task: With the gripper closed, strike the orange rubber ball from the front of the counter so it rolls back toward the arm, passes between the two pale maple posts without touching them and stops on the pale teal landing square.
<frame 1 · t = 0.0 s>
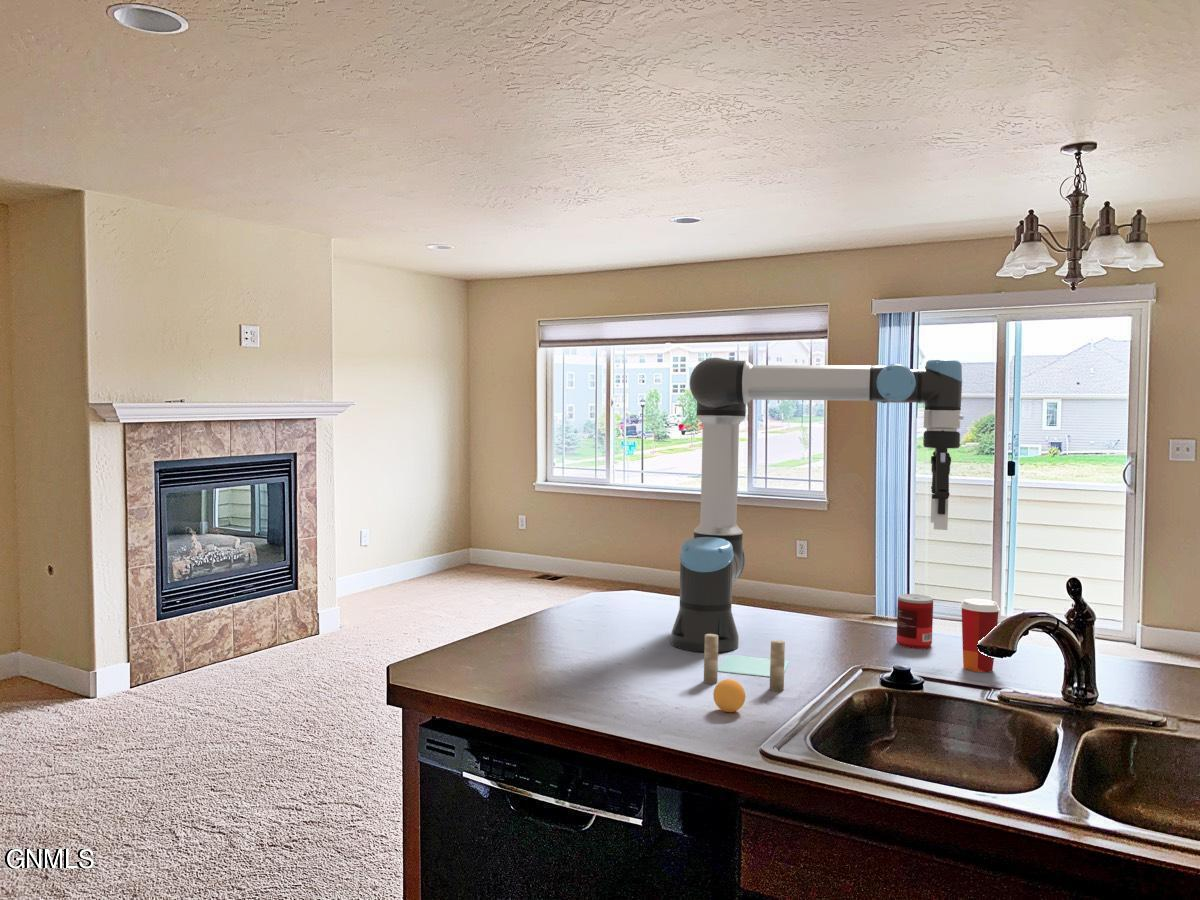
hand: (938, 526, 196), 28 cm above the counter, tool pointing down, fingers open, 13 cm apart
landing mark: (753, 666, 182), on the counter
ball: (729, 695, 153), on the counter
left post: (710, 681, 171), on the counter
paper cup: (977, 669, 184), on the counter
right post: (776, 689, 167), on the counter
canned food: (913, 645, 203), on the counter
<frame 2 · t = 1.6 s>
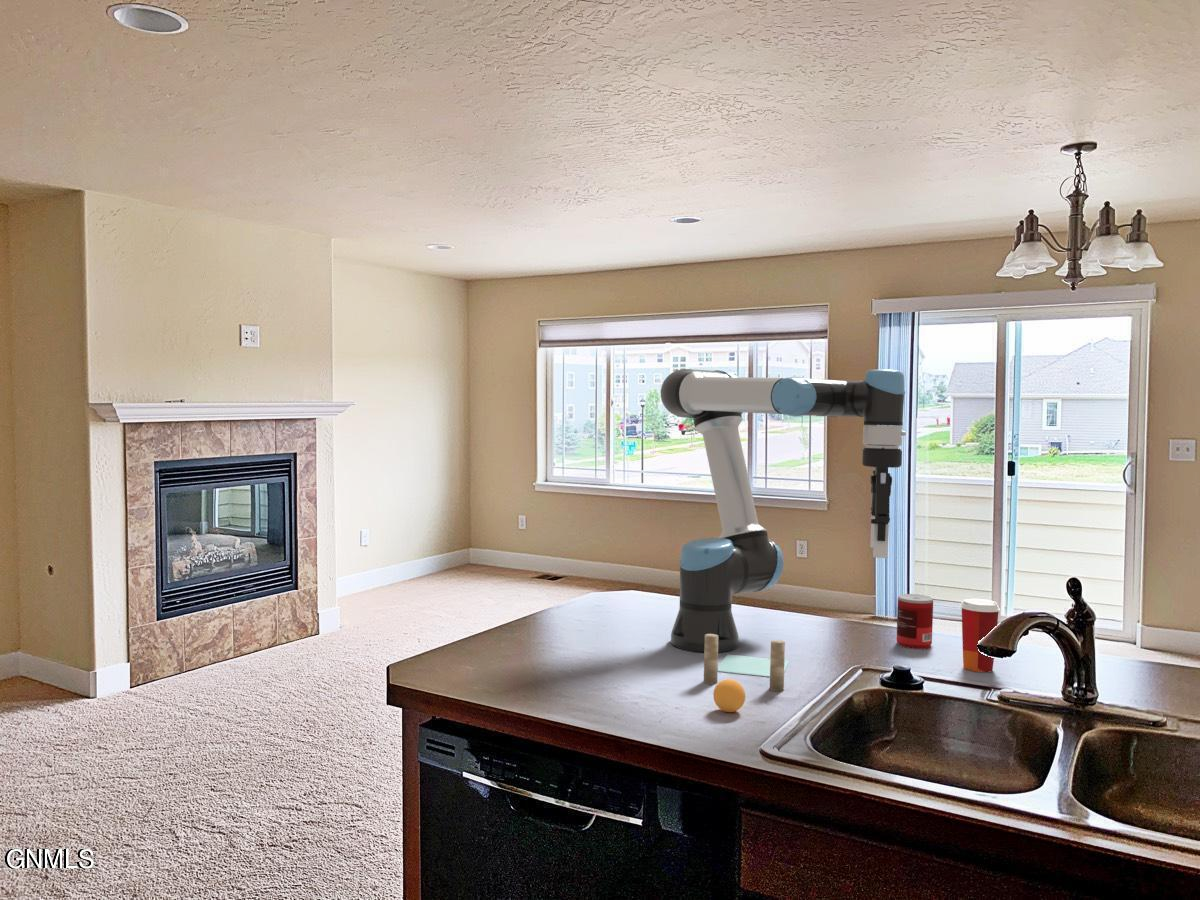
hand: (878, 552, 178), 24 cm above the counter, tool pointing down, fingers open, 13 cm apart
nothing on the counter moved.
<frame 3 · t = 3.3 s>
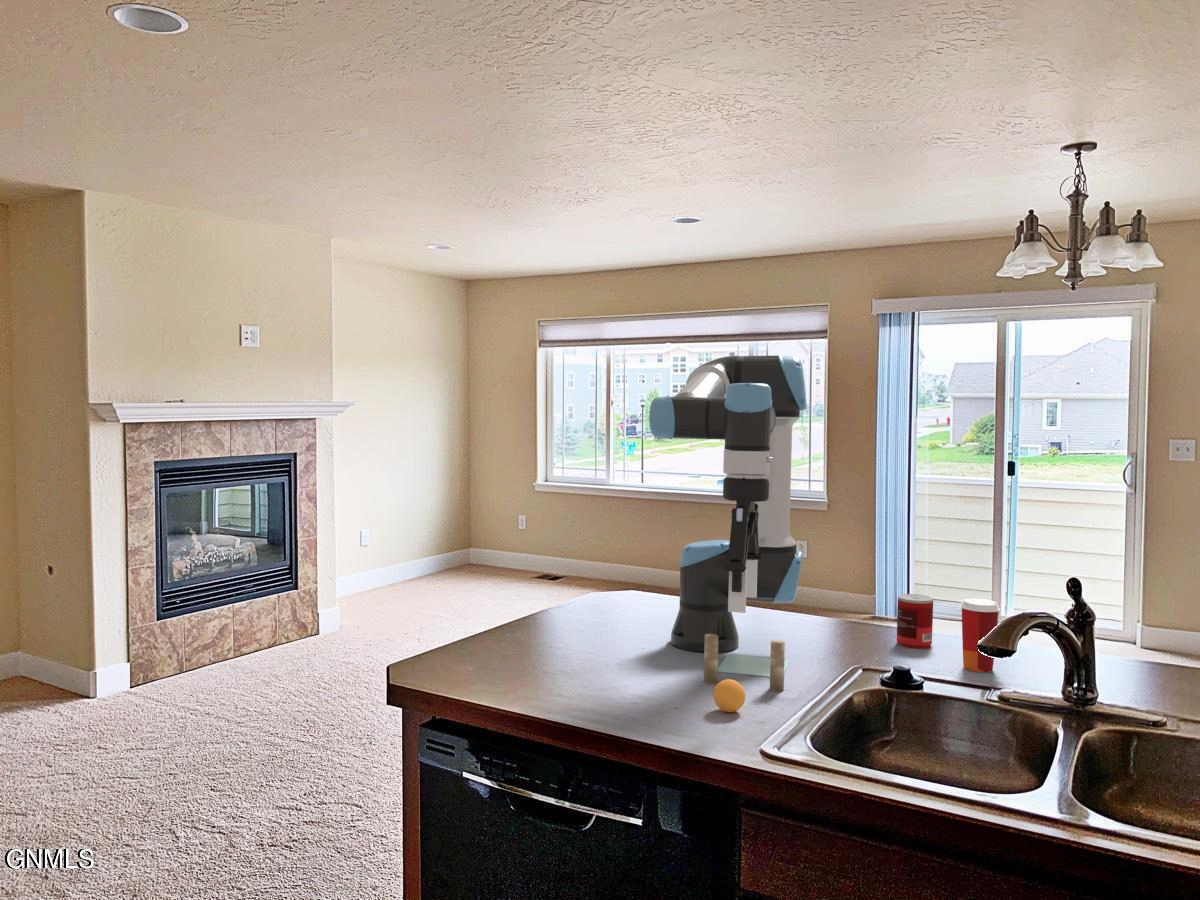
hand: (742, 604, 147), 20 cm above the counter, tool pointing down, fingers open, 13 cm apart
nothing on the counter moved.
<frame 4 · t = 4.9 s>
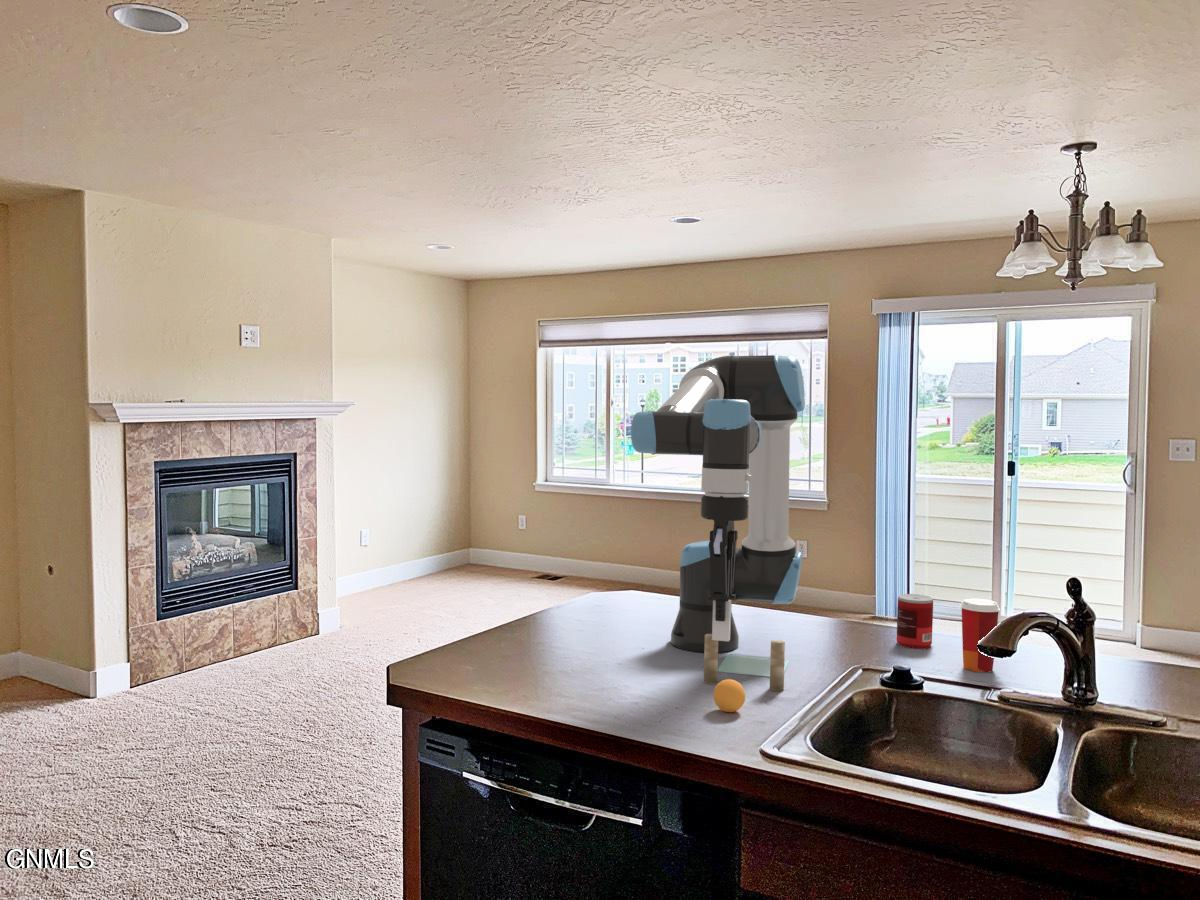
hand: (721, 639, 144), 15 cm above the counter, tool pointing down, fingers closed
nothing on the counter moved.
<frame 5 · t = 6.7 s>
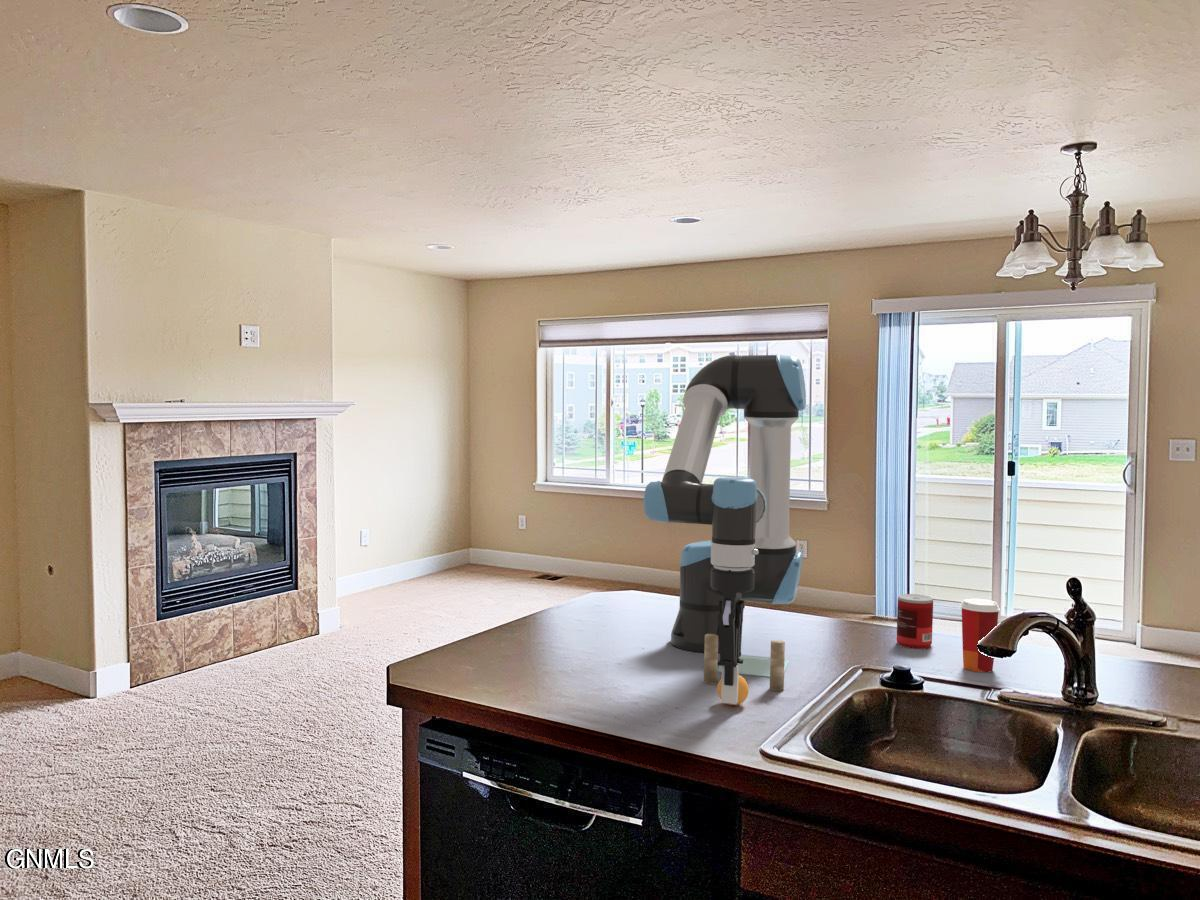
hand: (729, 701, 154), 2 cm above the counter, tool pointing down, fingers closed
ball: (732, 689, 157), on the counter
everything else where it was.
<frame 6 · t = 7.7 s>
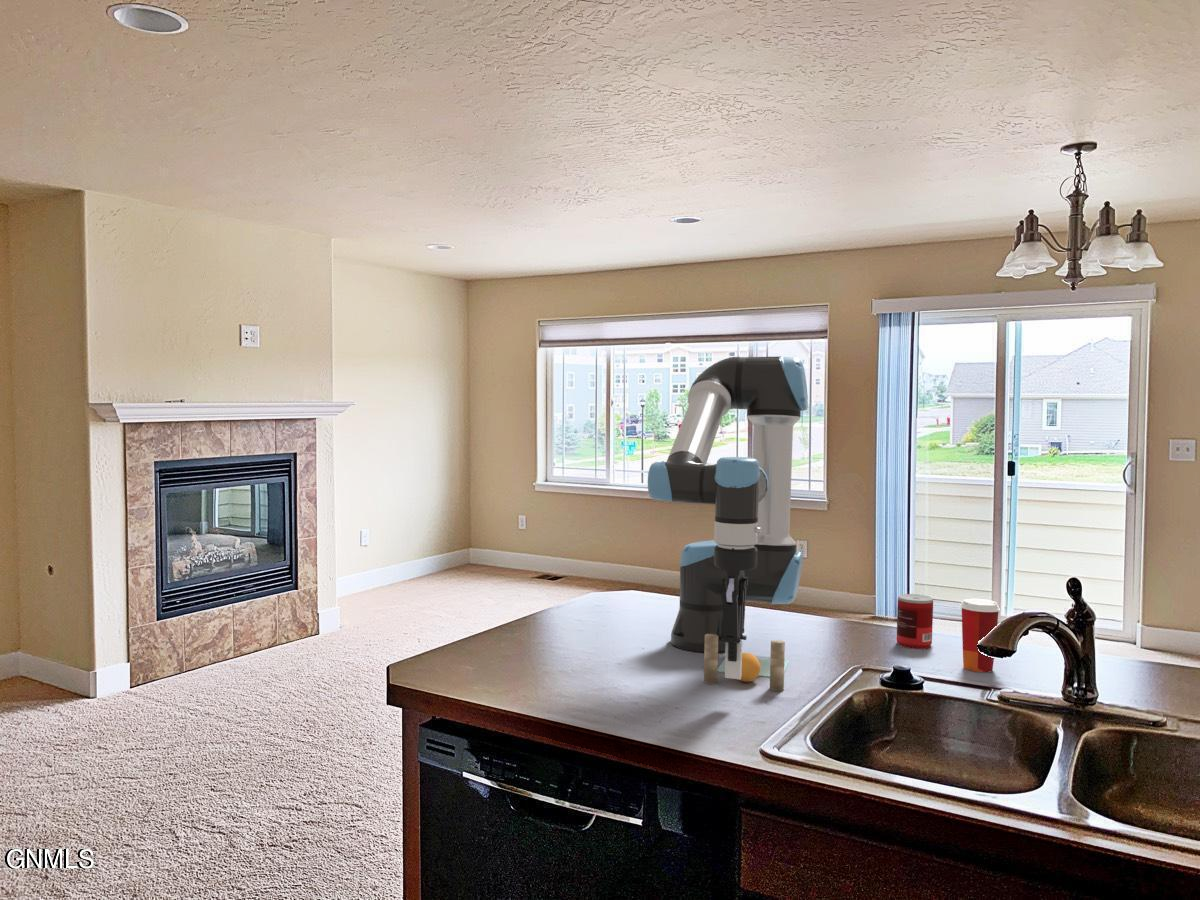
hand: (733, 677, 157), 5 cm above the counter, tool pointing down, fingers closed
ball: (745, 667, 171), on the counter
everything else where it was.
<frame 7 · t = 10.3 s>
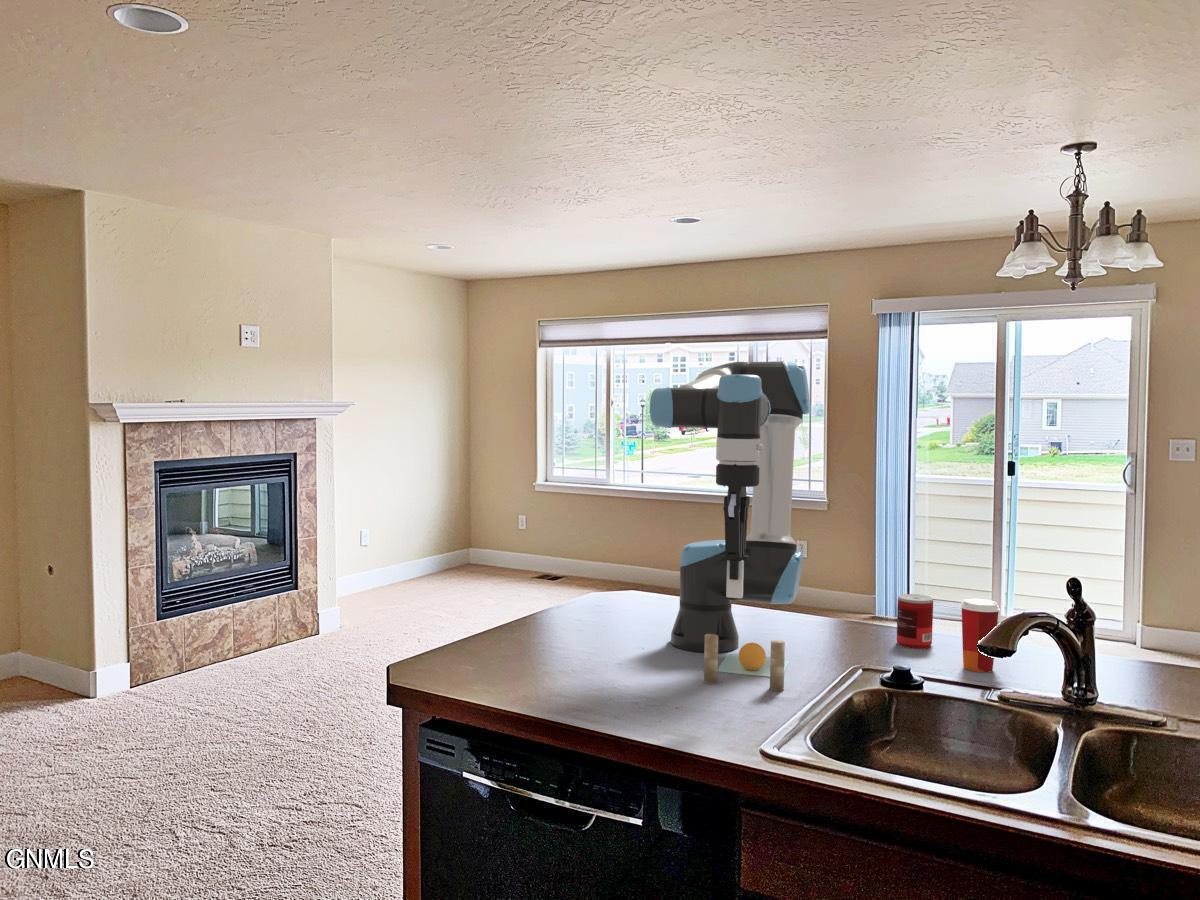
hand: (734, 596, 156), 19 cm above the counter, tool pointing down, fingers closed
ball: (752, 656, 179), on the counter
everything else where it was.
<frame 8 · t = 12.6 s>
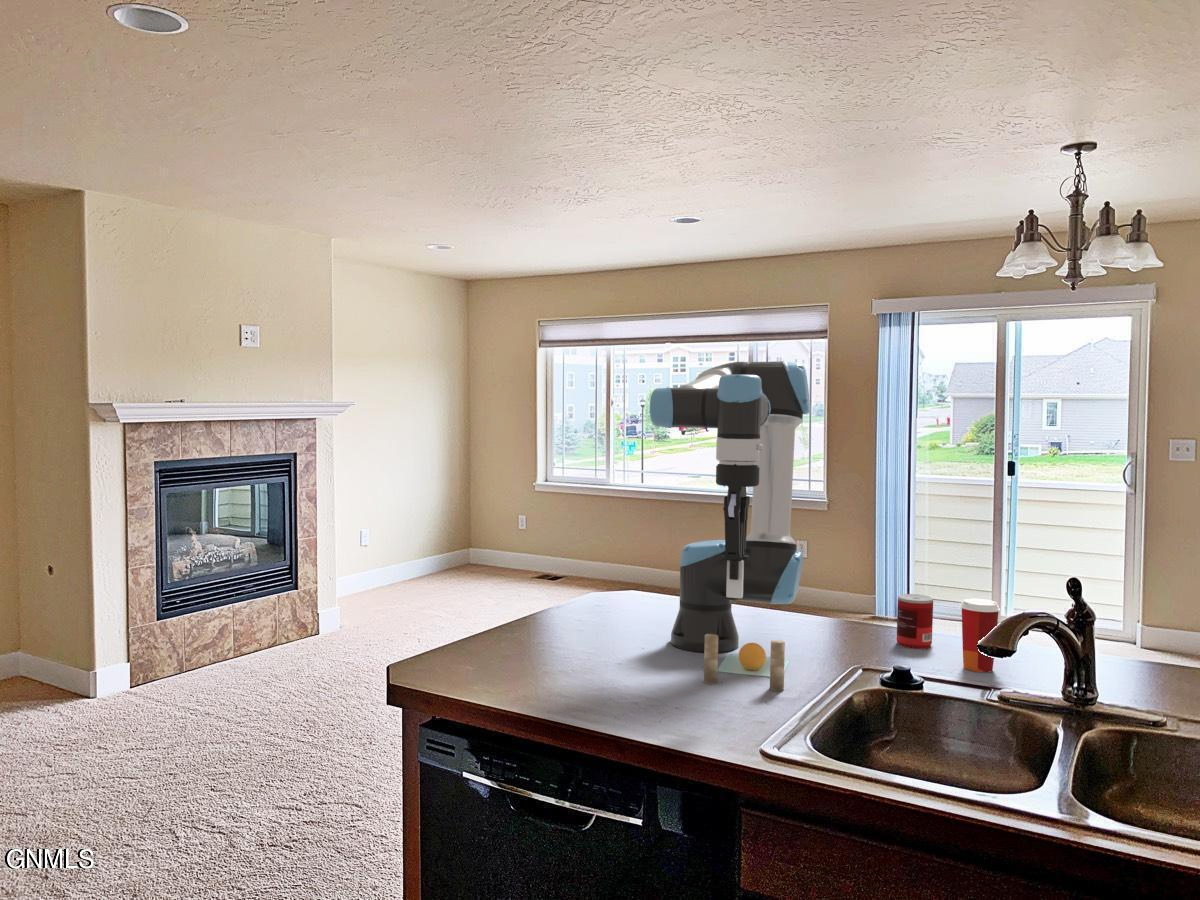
hand: (734, 596, 156), 19 cm above the counter, tool pointing down, fingers closed
nothing on the counter moved.
at the end: ball 2.8 cm from the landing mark (horizontally); ball never touched left post; ball never touched right post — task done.
